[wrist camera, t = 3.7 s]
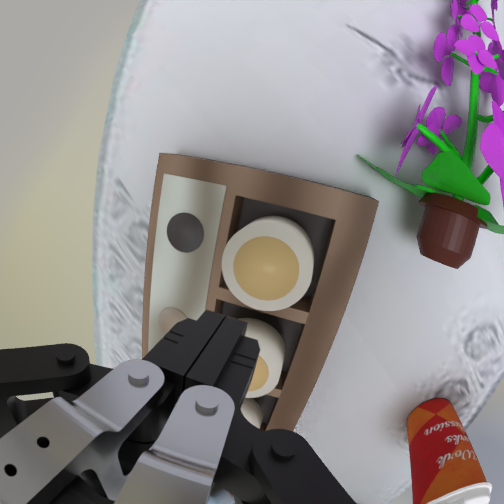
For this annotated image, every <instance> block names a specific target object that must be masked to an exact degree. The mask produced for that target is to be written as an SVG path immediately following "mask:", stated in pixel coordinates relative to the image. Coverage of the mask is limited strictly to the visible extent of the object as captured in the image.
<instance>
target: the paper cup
mask: <svg viewBox="0 0 504 504" xmlns="http://www.w3.org/2000/svg"><path fill="white" fill-rule="evenodd" d="M407 432H408V442H409V452H410V463H411V476H412V492H413V504H488V503H489V501H490V492H491V489H492V485H491V484H490V483H488V482H487V481H486V479H485V476H484V473H483V471H482V468H481V466H480V463H479V461H478V459H477V456H476V454H475V452H474V449H473V447H472V445H471V443H470V440H469V438H468V436H467V434H466V432H465V430H464V428H463V425H462V423H461V421H460V419H459V417H458V415H457V413H456V412H455V410H454V408H453V406H452V404H451V403H450V402H449V401H448V400H447V399H444V398H435V399H431V400H428V401H426V402H424V403H422V404H420V405H419V406H417V407H416V408H415V409H414V410H413V411H412V412H411V413H410V415H409V417H408V419H407Z"/></svg>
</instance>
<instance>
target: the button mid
mask: <svg viewBox="0 0 504 504" xmlns="http://www.w3.org/2000/svg"><path fill="white" fill-rule="evenodd" d="M239 320H242V321H245V322H248V324H247V330H246V334H245V336H246V337H250V338H253V339H256V340H258V343H259V347H260V353H259V356H258V360H257V364H256V367H255V371H254V374H253V378H252V381H251V384H250V387H249V389H248V392H247V394H246V397H245V398H255V397H260V396H263V395H266V394H268V393H269V392H271V391H272V390H273V389H274V388H275V387H276V385H277V384H278V381H279V378H280V374H281V370H282V366H283V362H284V358H285V353H286V348H285V343H284V341H283V338H282V337H281V335H280V334H279V332H278V331H277V330H276V329H275V328H273V327H272V326H271V325H269V324H268V323H266V322H264V321H261V320H258V319H254V318H240V319H239Z"/></svg>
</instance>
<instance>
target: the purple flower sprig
mask: <svg viewBox="0 0 504 504" xmlns="http://www.w3.org/2000/svg"><path fill="white" fill-rule="evenodd" d="M478 1H479V0H460V3H459V2H457V0H453V3H451V9H452V16H453V20H454V21H455V20H456V25H452V26H451V27H450V28H449V30H448V33H447V40H446V35H445V34H444V33H443V32H441V33H439V34H438V36H437V38H436V40H435V44H434V57H435V60H436V61H437V62H440V61H441V60H442V59H443V58H444V56H446V55H450V56H449V57H448V58H446V59H445V60H444V62H443V64H442V69H441V75H442V79H443V81H444V82H445V83H446V84H447V85H449V86H450V85H451V82H452V76H453V64H454V59H453V57H454V58H456V59H458V60H459V61H461V62H463V63H465V64H466V65H468V66H470V67H471V83H470V102H469V117H468V127H467V135H466V142H465V147H464V152H463V157H462V158H461V156H460V154H459V152H458V151H457V149H456V148H455V146H454V145H453V144H452V143H451V141H450V140H449V139H448V138H447V136H446V135H448V134H450V133H451V132H453V131H454V130H456V129H457V128H458V127H460V125H461V124H462V120H461V118H459V117H458V116H457V115H450V116H448V117H447V118H446V119H445V121H444V123H443V130H441V129H442V127H441V124H442V121H443V120H444V117H445V115H446V113H445V110H444V108H442V107H436V108H434V109H433V110H432V112H431V113H430V114H429V116H428V118H427V120H426V126H427V127H425V126H424V125H422V124H421V122H422V119H423V117H424V115H425V113H426V110H427V108H428V106H429V104H430V102H431V100H432V97H433V95H434V93H435V91H436V88H437V86H438V85H436V86H434V87H433V88H432V89H431V91H430V92H429V94H428V97H427V99H426V101H425V103H424V105H423V107H422V110H421V112H420V115H419V111H420V105H419V107H418V112H417V116H416V120H415V123H414V126H413V129H411V130H410V131H409V132H408V133H407V135H406V137H405V139H404V140H403V142H402V143H403V144H402V143H401V144H402V147H404V146H405V148H404V150H403V153H402V156H401V159H400V162H399V165H398V168H397V172H398V170H399V169H400V167H401V165H402V163H403V161H404V159H405V157H406V155H407V153H408V151H409V149H410V148H411V146H412V144H413V142H414V140H415V138H416V135H417V134H418V132H421V135H420V136H419V138H418V141H417V145H418V146H424V145H426V147H427V149H428V151H429V153H430V154H433V155H434V154H435V152H436V151H437V150H438V148H439V149H440V150H442V151H443V152H442V153H439V154H438V155H437V156H436V158H435V159H434V160H433V162H432V163H431V164H430V165H429V166H428V167H427V168H426V169H424V170H423V171H422V180H423V182H424V183H425V184H426V185H428V186H430V187H432V188H435V189H438V190H441V191H444V192H448V193H451V194H453V197H450V196H448V195H445V194H443V193H442V192H440V191H438V190H434V189H431V188H428V187H425V186H422V185H409V184H407V183H404V182H402V181H400V180H398V179H396V178H394V177H393V176H391V175H390V174H388V173H387V172H385V171H384V170H382V169H380V168H378V167H375V166H374V165H372V164H371V163H370V162H368V161H367V160H365V159H364V158H362V157H361V156H359V155H358V154H357V155H358V156H359V157H360V158H361V159H363V160H364V161H365V162H367V163H368V164H369V165H370V166H372V167H373V168H374V169H375V170H377V171H378V172H379V173H380V174H382V175H383V176H384V177H385V178H387V179H388V180H390V181H391V182H393V183H395V184H397V185H399V186H401V187H403V188H405V189H406V190H408V191H410V192H411V193H413V194H414V195H416V196H417V197H419V198H421V199H420V200H419V201H418V203H419V204H420V205H422V206H424V207H425V209H424V213H423V217H422V220H421V224H420V227H419V231H418V234H417V240H418V245H419V249H420V254H421V255H423V256H425V257H427V258H430V259H432V260H434V261H437V262H439V263H442V264H444V265H447V266H450V267H453V268H456V269H458V268H459V267H460V266H462V265H463V264H464V263H465V262H466V261H467V260H469V259H470V258H471V255H472V251H473V248H474V245H475V241H476V238H477V234H478V231H479V227H480V228H484V229H488V230H490V231H492V232H495V233H499V234H504V226H501V225H499V224H498V223H497V221H496V220H495V218H494V217H493V216H492V214H491V213H490V212H489V211H487V210H485V209H483V208H481V207H479V206H477V205H471V204H469V203H466V202H464V201H463V200H464V198H466V199H468V200H470V201H473V202H475V203H478V204H482V205H489V203H490V194H489V193H488V191H487V190H486V189H485V188H484V187H483V186H482V185H483V184H484V183H485V181H486V180H487V179H488V178H489V176H490V175H491V174H492V173H493V172H495V173H496V174H497V175H498V176H499V177H500V185H501V192H502V198H503V207H504V111H502V110H501V108H500V106H501V105H502V104H503V102H504V50H502V46H501V44H500V42H499V37H498V34H497V32H496V30H495V29H496V28H495V22H494V9H496V10H497V0H491V9H492V16H493V18H492V19H491V18H487V16H486V13H485V12H484V10H483V9H482V8H481V7H480V6H479V5H478V4H477V2H478ZM462 5H463V6H464V7H463V6H462ZM465 7H466V8H465ZM456 17H461V18H462V19H461V26H462V27H463V28H465V29H467V30H469V31H472V32H473V35H470V36H469V37H468V40H466V39H460V40H458V38H459V35H461V36H462V30H461V26H460V21H459V19H458V18H457V19H456ZM486 20H491V21H492V22H493V26H492V24H490V23H489V22H486ZM482 21H485V22H483V23H481V22H482ZM480 23H481V24H480ZM480 26H481V28H482V31H483V33H484V34H485V35H486V36H487V37H488V38H490V39H492V42H493V43H492V42H491V43H490V44H489V45H488V51H487V50H485V44H484V42H483V40H482V39H481V32H480ZM447 44H448V46H449V48H450V50H449V48H448V46H447ZM455 48H456V49H457V50H459V51H460V52H462V53H463V54H465V55H467V60H468V61H466V60H465V59H463V58H461V57H459V56H457V55H456V54H454V53H452V51H454V50H455ZM498 70H499V71H498ZM482 71H483V73H482V75H481V77H480V79H479V74H480V73H481V72H482ZM497 71H498V72H497ZM479 86H480V88H481V89H482V90H484V91H486V92H488V93H491V96H492V98H493V101H492V109H493V115H491V116H487V117H484V116H481V115H478V95H479ZM418 117H419V119H418ZM478 120H480V121H481V122H485V123H489V122H492V121H494V123H492V124H489V125H488V126H487V128H486V129H485V131H484V132H483V134H482V136H481V144H480V149H481V152H482V154H483V156H484V158H485V160H486V162H487V163H488V164H489V165H488V166H487V167H486V168H485V170H484V171H483V172H482V174H481V175H480V176H479V177H478V178H477V179H476V177H475V176H474V175H473V173H472V172H471V171H472V166H473V161H474V155H475V148H476V139H477V127H478ZM418 122H419V123H418ZM416 128H417V129H416ZM442 140H444V141H445V143H446V144H447V145H448V146H447V145H446V144H445V143H444V142H443V141H442ZM402 147H401V148H402ZM397 172H396V174H397Z"/></svg>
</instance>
